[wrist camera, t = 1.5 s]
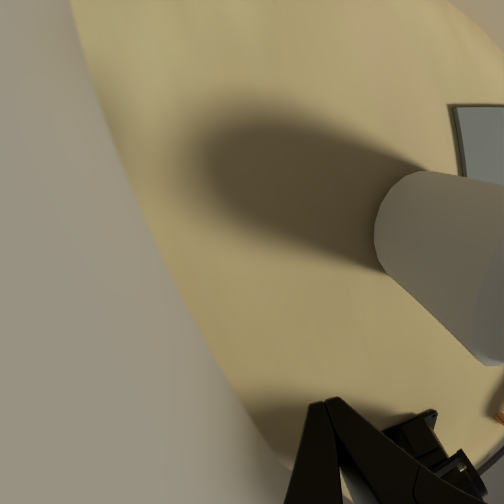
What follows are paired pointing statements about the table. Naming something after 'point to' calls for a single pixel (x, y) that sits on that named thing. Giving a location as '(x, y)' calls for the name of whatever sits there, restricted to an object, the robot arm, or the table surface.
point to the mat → (481, 142)
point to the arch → (500, 418)
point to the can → (449, 254)
